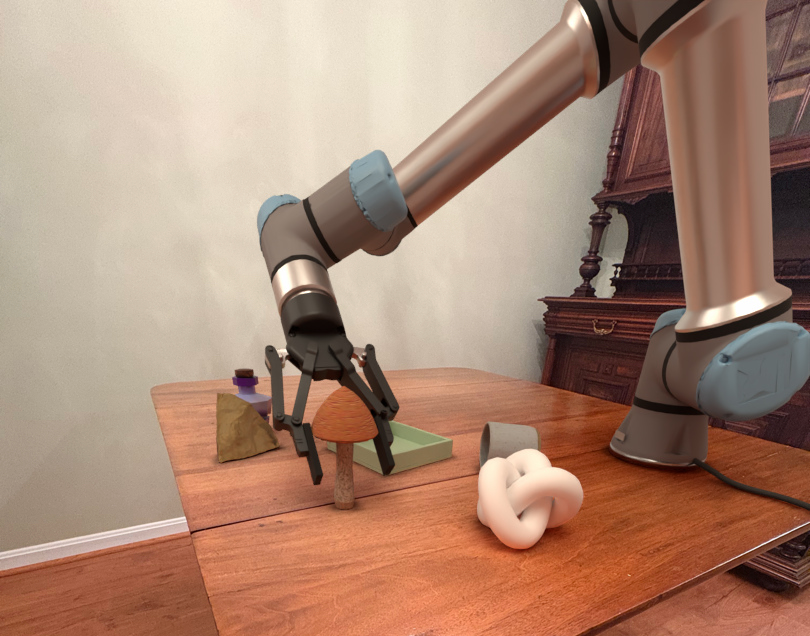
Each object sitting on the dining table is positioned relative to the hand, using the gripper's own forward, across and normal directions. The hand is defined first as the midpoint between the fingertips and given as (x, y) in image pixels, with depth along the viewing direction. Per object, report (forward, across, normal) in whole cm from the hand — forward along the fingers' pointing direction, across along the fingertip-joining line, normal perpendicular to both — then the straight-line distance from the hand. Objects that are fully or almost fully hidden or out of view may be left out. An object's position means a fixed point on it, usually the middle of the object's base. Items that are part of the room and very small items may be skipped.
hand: (355, 475), depth 49 cm
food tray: (-11, -13, -19) cm, 26 cm away
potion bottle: (-25, +7, -33) cm, 42 cm away
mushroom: (+2, 0, -6) cm, 7 cm away
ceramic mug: (-2, -28, -10) cm, 29 cm away
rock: (-17, +9, -25) cm, 32 cm away
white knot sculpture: (+11, -16, +3) cm, 20 cm away
